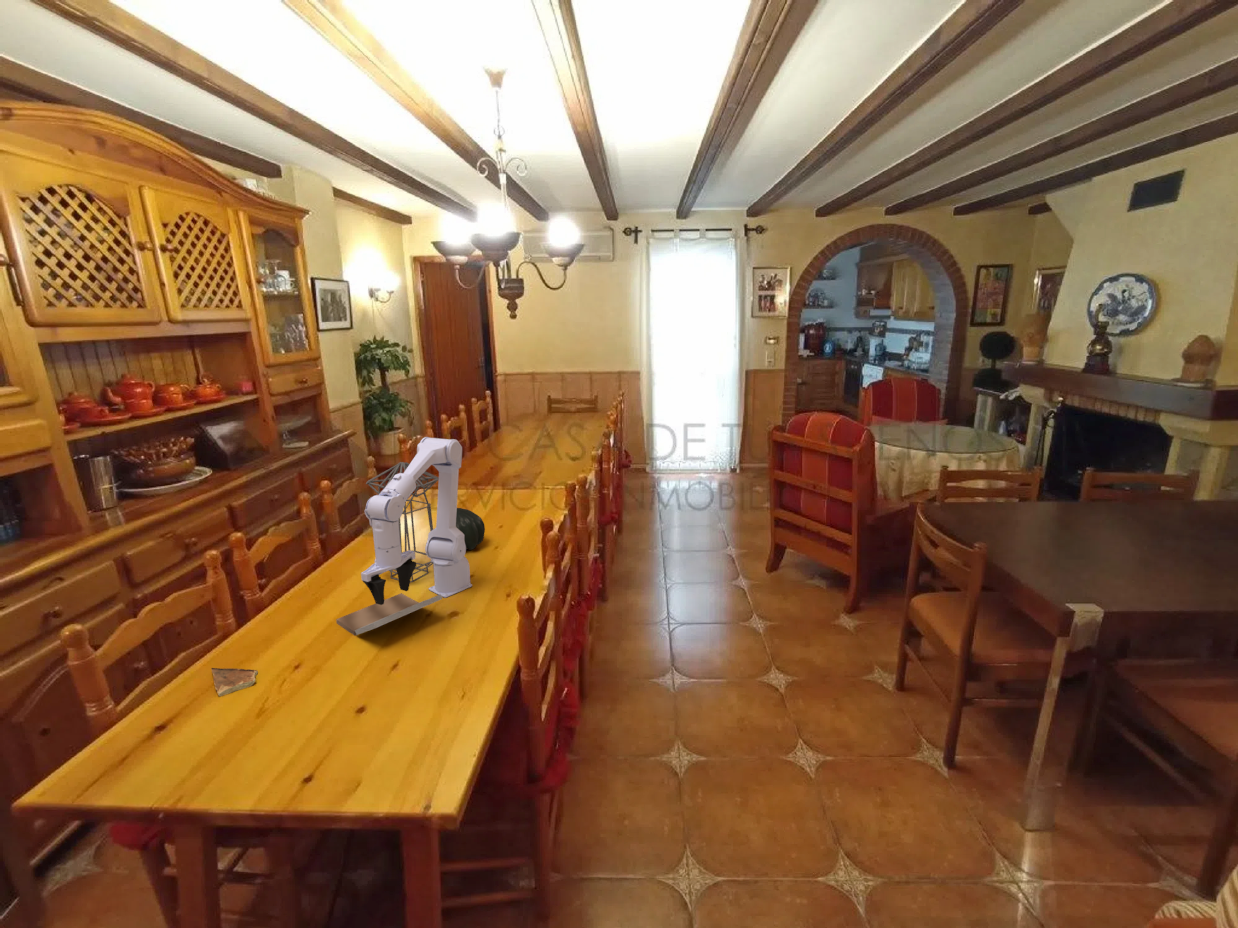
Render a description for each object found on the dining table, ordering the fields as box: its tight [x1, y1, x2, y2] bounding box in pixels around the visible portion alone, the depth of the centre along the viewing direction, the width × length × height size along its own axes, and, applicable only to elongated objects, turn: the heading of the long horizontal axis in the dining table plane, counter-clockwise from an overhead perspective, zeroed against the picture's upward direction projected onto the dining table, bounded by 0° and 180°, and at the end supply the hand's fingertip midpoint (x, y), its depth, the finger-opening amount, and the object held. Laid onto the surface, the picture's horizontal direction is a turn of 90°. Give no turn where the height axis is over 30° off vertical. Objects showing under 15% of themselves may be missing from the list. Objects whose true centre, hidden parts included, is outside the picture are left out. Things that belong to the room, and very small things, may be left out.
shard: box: [211, 667, 258, 697], centre depth 119 cm, size 11×8×2 cm
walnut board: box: [335, 593, 420, 636], centre depth 144 cm, size 18×9×1 cm, turn 142°
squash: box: [456, 507, 486, 550], centre depth 187 cm, size 14×15×15 cm
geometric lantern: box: [365, 461, 439, 584], centre depth 163 cm, size 16×16×35 cm
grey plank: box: [355, 594, 443, 636], centre depth 137 cm, size 18×11×1 cm, turn 142°
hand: (392, 596), depth 135 cm, fingers open, 7 cm apart
